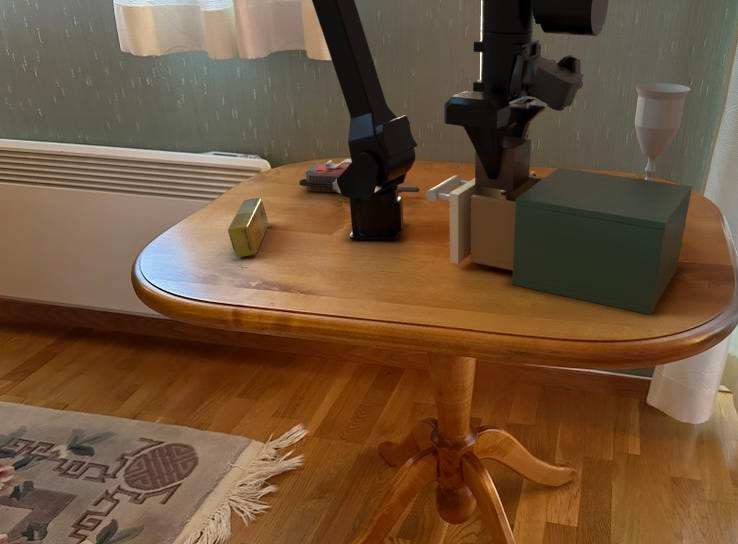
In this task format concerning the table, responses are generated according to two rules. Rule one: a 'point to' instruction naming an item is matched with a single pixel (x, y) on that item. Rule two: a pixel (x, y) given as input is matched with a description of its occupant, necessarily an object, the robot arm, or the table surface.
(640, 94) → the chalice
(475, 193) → the drawer
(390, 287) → the table surface
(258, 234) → the medication box
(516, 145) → the block
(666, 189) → the cabinet
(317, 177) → the walkie-talkie
